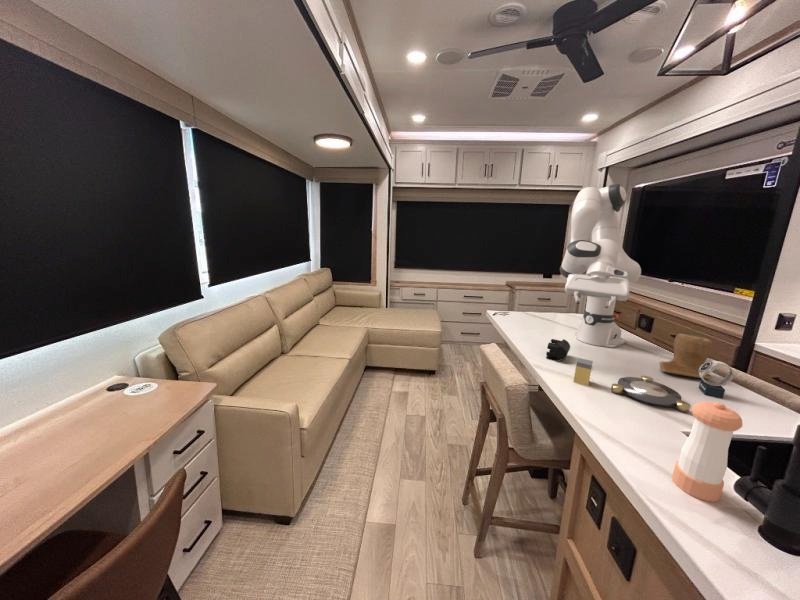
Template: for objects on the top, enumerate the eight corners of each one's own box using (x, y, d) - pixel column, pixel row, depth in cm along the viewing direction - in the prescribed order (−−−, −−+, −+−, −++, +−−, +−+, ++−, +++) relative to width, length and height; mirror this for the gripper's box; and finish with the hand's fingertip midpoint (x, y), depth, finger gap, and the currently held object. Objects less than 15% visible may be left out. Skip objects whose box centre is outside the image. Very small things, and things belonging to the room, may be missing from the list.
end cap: (564, 363, 121) (567, 347, 120) (545, 359, 125) (547, 343, 124) (568, 356, 129) (571, 340, 128) (550, 351, 133) (552, 336, 132)
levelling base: (637, 378, 111) (639, 372, 110) (705, 406, 94) (707, 399, 94) (602, 388, 103) (604, 382, 103) (669, 420, 86) (671, 413, 86)
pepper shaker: (681, 494, 62) (706, 408, 57) (665, 469, 69) (687, 390, 64) (728, 507, 59) (758, 418, 55) (707, 479, 66) (732, 398, 62)
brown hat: (698, 370, 119) (708, 333, 116) (715, 384, 109) (727, 344, 105) (650, 363, 125) (659, 327, 121) (662, 375, 114) (671, 337, 111)
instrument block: (574, 377, 110) (578, 357, 109) (589, 381, 108) (592, 361, 106) (573, 382, 107) (576, 361, 105) (588, 386, 104) (591, 365, 103)
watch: (691, 386, 107) (699, 356, 104) (722, 392, 103) (732, 361, 101) (696, 393, 102) (705, 362, 99) (730, 400, 98) (740, 368, 96)
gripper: (568, 267, 122) (560, 295, 116) (633, 273, 110) (626, 304, 104) (569, 277, 126) (560, 304, 121) (631, 284, 114) (624, 314, 109)
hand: (591, 304), depth 112 cm, fingers open, 8 cm apart
